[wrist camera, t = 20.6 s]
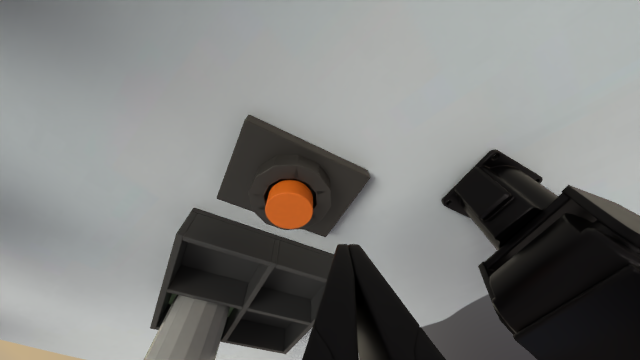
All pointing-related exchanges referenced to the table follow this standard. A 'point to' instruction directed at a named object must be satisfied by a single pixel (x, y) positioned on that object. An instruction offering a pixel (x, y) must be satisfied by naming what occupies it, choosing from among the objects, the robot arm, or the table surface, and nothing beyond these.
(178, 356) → the tumbler
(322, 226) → the block
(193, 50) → the table surface
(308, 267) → the divided tray
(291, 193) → the button
